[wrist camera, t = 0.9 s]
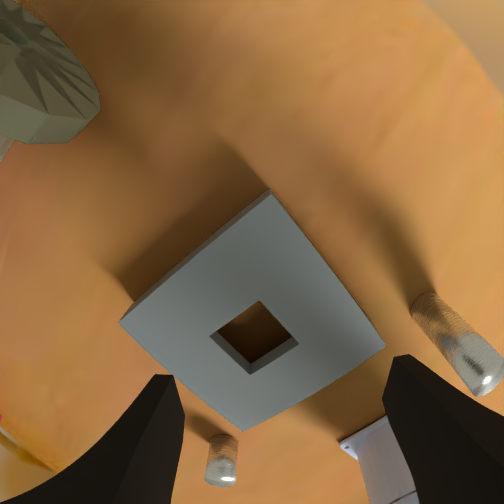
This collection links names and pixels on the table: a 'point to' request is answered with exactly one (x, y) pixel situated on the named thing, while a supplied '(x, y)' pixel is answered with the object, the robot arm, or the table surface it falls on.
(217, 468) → the short pin
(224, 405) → the board
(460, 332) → the long pin
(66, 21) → the table surface
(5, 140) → the spool
